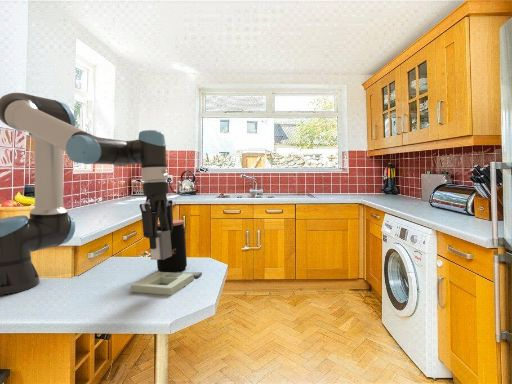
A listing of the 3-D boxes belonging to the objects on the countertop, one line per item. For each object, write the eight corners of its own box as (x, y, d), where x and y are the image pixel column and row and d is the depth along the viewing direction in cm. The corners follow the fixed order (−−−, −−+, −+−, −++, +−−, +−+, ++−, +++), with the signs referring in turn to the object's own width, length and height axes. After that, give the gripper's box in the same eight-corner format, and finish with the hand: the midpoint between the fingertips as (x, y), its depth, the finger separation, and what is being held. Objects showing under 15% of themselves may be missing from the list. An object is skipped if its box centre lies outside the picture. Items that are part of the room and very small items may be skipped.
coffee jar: (151, 272, 108) (148, 223, 108) (172, 264, 118) (169, 219, 117) (173, 275, 103) (170, 224, 103) (193, 266, 113) (190, 220, 112)
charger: (151, 259, 90) (148, 233, 90) (159, 255, 95) (157, 230, 94) (163, 259, 89) (161, 233, 89) (172, 255, 93) (170, 230, 93)
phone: (178, 278, 100) (178, 275, 100) (182, 274, 104) (182, 272, 104) (198, 277, 99) (198, 275, 99) (201, 274, 103) (201, 272, 103)
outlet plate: (131, 291, 90) (131, 284, 90) (157, 277, 102) (157, 271, 102) (171, 294, 86) (171, 287, 85) (193, 279, 98) (193, 273, 98)
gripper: (147, 181, 81) (153, 265, 82) (181, 180, 98) (186, 249, 99) (124, 183, 84) (131, 264, 85) (162, 181, 100) (167, 249, 101)
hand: (161, 256), depth 92 cm, fingers closed on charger, 4 cm apart
